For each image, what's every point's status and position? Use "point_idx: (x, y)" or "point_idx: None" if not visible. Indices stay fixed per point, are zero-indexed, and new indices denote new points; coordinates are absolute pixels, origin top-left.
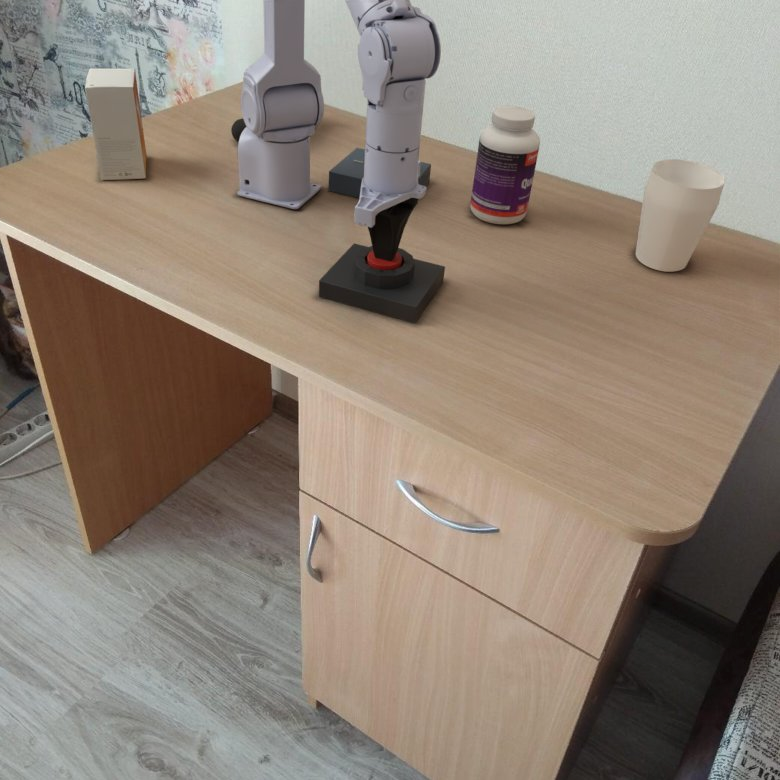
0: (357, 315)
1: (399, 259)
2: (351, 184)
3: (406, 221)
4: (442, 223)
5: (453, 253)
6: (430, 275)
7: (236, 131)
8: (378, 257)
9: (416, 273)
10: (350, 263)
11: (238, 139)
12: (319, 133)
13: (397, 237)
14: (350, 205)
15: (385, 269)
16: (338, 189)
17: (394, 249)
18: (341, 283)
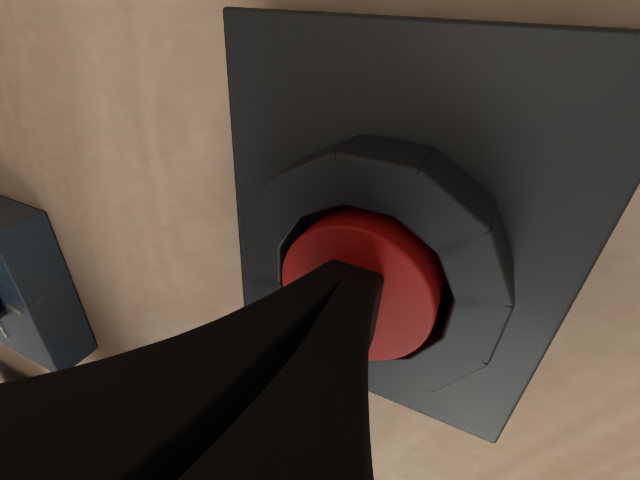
0: (608, 291)
1: (349, 236)
2: (60, 330)
3: (167, 360)
4: (24, 114)
5: (104, 35)
6: (320, 56)
7: None
8: (374, 327)
9: (330, 127)
10: None
11: None
12: (3, 352)
13: (334, 363)
14: (107, 314)
15: (434, 282)
16: (85, 339)
17: (368, 310)
18: (499, 389)
